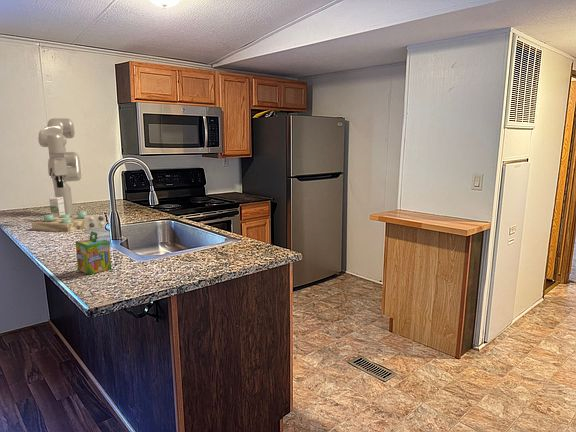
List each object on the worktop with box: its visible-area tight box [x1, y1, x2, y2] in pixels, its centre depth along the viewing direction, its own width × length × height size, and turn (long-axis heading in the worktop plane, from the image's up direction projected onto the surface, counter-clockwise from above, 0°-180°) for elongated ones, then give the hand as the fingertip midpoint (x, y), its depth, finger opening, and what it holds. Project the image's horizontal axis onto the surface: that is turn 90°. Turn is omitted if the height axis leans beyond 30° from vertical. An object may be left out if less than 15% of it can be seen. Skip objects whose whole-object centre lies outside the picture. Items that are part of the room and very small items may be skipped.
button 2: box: [61, 219, 71, 223], centre depth 227 cm, size 5×5×4 cm
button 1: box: [43, 213, 54, 222], centre depth 230 cm, size 5×5×4 cm
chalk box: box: [75, 231, 112, 276], centre depth 154 cm, size 9×9×15 cm
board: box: [31, 214, 85, 233], centre depth 235 cm, size 24×24×4 cm
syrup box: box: [48, 196, 65, 217], centre depth 252 cm, size 6×6×14 cm
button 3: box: [76, 210, 88, 219], centre depth 238 cm, size 5×5×4 cm
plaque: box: [84, 214, 107, 230], centre depth 230 cm, size 1×12×7 cm, turn 115°
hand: (60, 187), depth 239 cm, fingers closed
